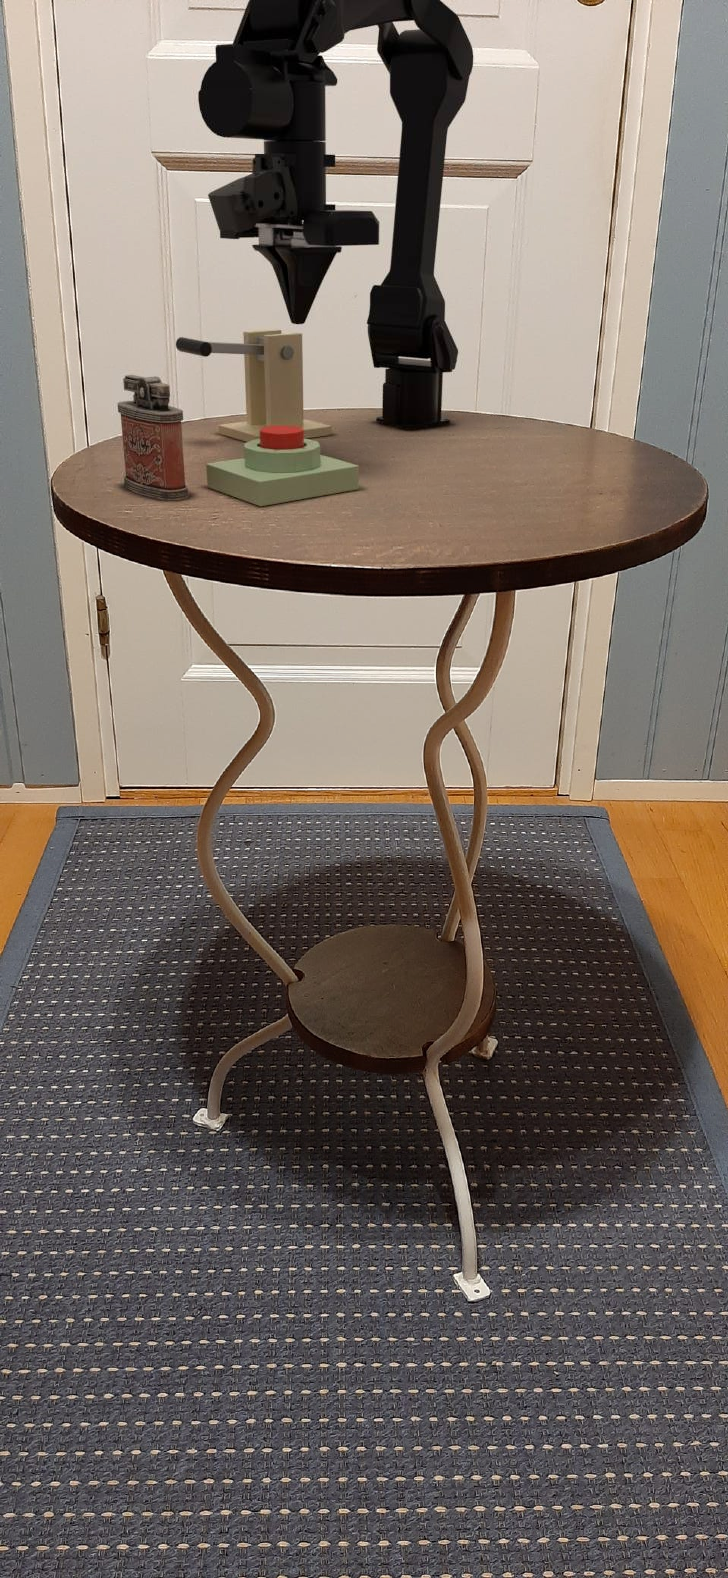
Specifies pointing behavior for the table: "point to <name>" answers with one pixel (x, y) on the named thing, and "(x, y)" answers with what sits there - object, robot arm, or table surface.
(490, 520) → the table surface
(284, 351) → the bracket
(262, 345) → the lever
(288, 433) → the button
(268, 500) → the button box
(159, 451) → the lighter
